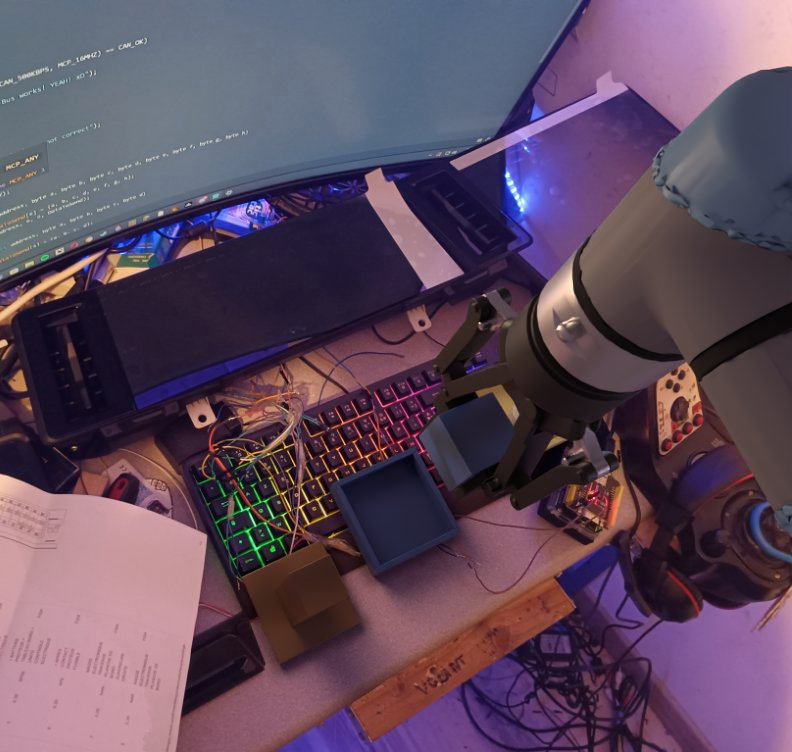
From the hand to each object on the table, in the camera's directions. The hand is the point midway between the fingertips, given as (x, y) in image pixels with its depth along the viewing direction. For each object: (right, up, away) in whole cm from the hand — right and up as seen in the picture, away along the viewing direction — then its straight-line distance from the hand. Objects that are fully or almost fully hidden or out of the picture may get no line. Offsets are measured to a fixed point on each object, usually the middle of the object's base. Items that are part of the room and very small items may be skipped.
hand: (452, 458), depth 59 cm
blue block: (0, +1, -2) cm, 2 cm away
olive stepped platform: (-13, -16, +13) cm, 24 cm away
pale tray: (+12, +2, +25) cm, 28 cm away
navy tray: (-3, -8, +18) cm, 20 cm away
